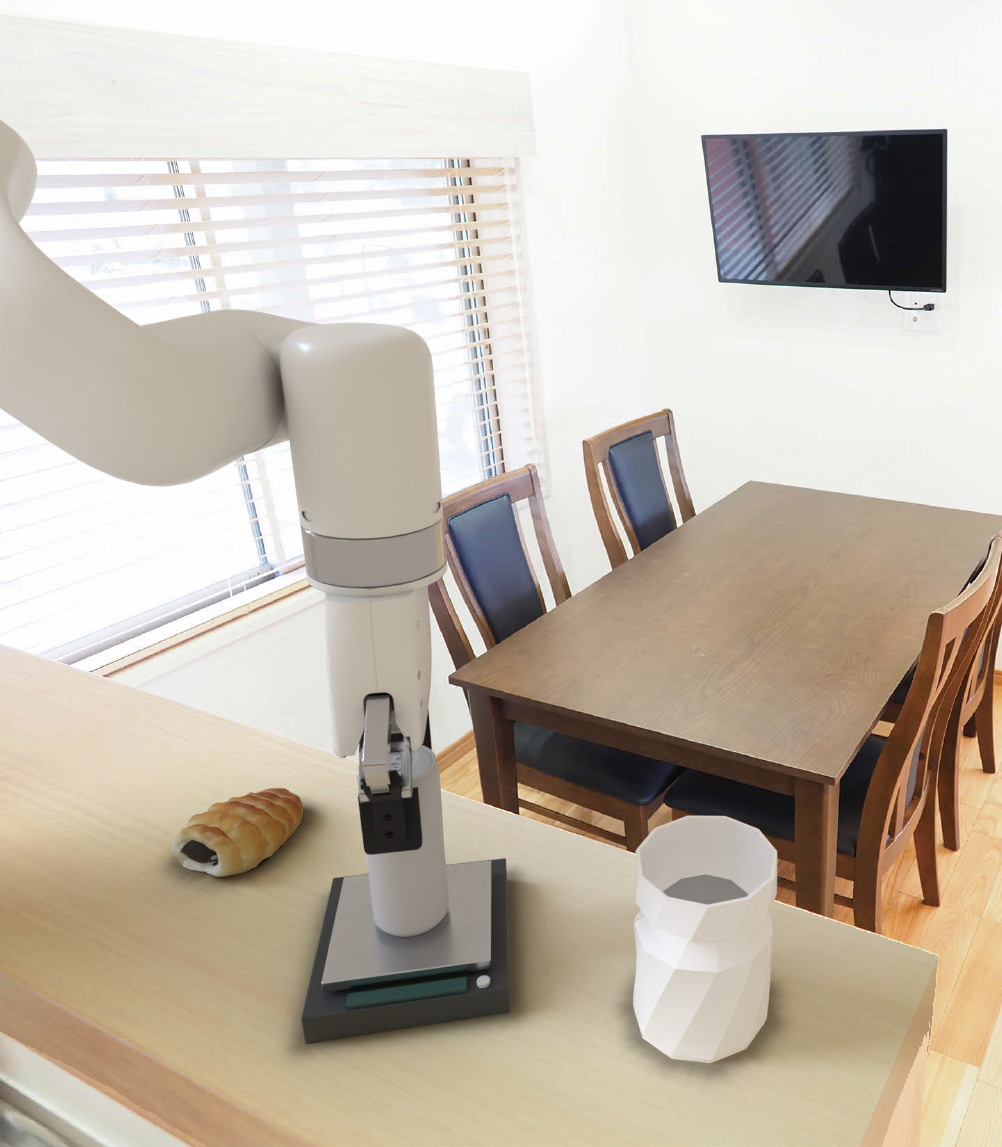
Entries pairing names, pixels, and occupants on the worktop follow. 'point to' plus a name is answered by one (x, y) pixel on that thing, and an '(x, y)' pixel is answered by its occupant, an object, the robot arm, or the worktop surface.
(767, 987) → the vase
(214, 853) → the pastry
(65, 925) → the worktop surface
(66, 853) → the worktop surface
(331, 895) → the scale
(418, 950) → the scale pan
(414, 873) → the beverage can
